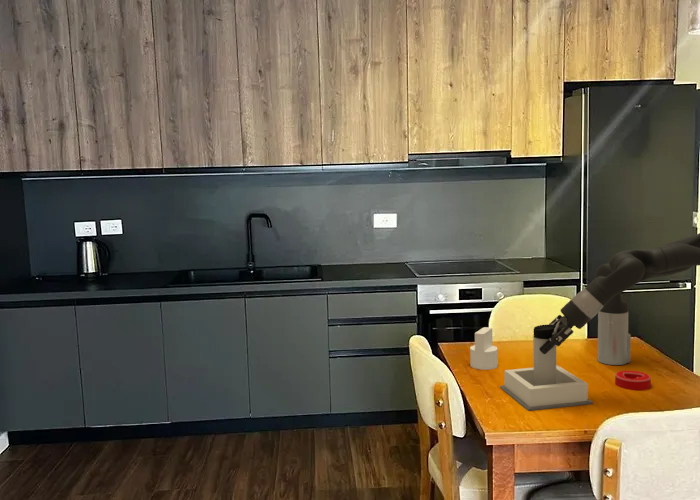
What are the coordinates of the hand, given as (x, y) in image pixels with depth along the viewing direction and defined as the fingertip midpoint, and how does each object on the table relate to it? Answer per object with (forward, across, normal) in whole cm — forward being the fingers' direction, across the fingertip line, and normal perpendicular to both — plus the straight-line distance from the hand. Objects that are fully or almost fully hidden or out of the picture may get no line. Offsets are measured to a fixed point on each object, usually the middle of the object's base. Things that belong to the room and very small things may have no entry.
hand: (539, 347), depth 179 cm
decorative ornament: (-9, +11, -30) cm, 34 cm away
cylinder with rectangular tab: (+21, +27, 0) cm, 34 cm away
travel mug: (+8, 0, -11) cm, 14 cm away
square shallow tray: (+9, 0, -11) cm, 14 cm away
